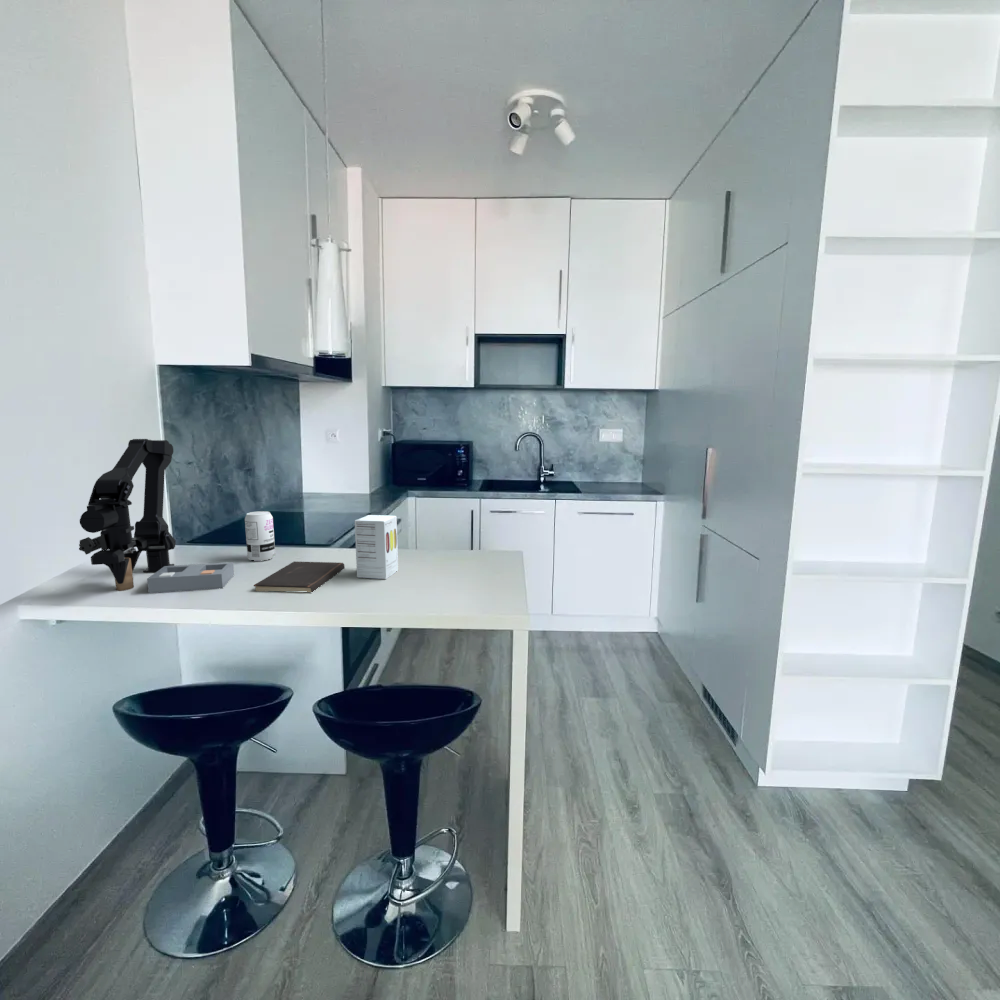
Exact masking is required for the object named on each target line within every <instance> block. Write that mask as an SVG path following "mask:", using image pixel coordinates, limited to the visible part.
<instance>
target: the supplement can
mask: <svg viewBox="0 0 1000 1000" xmlns="http://www.w3.org/2000/svg"><path fill="white" fill-rule="evenodd" d="M244 528H245V541H246V553H247V559H248V560H249V561H251V560H254V561H253V562H262V561H261V560H267V561H269V560H268V559H270V560H272V559H271V558H273V557H275V556H276V545H275V542H276V541H275V530H274V517H273V515H272V514H271V512H270V511H266V510H264V511H263V510H259V511H251V512H246V515H245V517H244ZM273 559H274V558H273Z"/></svg>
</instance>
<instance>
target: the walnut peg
mask: <svg viewBox="0 0 1000 1000" xmlns="http://www.w3.org/2000/svg"><path fill="white" fill-rule="evenodd" d="M133 576H134V575H133V573H132V565H131V558H129V562H128V566H127V570H126V574H125V578H124V582H123V583H122V584H118V583H117V581H116V579H115V578H114V582H115V590H116V591H117V592H118V591H119V592H121V591H123V592H124V591H128V590H132V589H134V587H135V586H134V585H135V584H134V577H133Z"/></svg>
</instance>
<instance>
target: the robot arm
mask: <svg viewBox="0 0 1000 1000" xmlns="http://www.w3.org/2000/svg"><path fill="white" fill-rule="evenodd" d="M173 455H174V446H173V444H172V443H170V442H169V441H168V440H166V439H164V440H163V439H162V440H161V439H157V440H156V439H154V440H152V439H148V438H133V439H130V440H129V441H128V444H127V448H126V449H125V450H124V452H123V453H122V455H121V457H120V458H119V460H118V461H117V462H116V463H115V465H114V467H113V468H112V469H111V470H109V471H106V472H104V473H102V475H101V476H99V478H97V479H96V481H95V483H94V484H93V487H92V491H91V494H90V497H89V501H88V504H87V505H86V511H84V512H82V514H81V515H80V518H79V524H80V526H81V528H82V529H83V530H84V531H85V532H88V533H92V534H95V533H99V532H100V535H99V536H96V537H94V538H90V536H88V537H84V538H82V539H79V543H78V550H79V551H80V552H84V554H85V555H90V554H91V553H93V552H94V553H93V554H92V555H91V556H90V563H91V565H92V566H93V565H94V566H95V565H96V566H97V565H104V566H106V567H108V569H109V570H110V571H111V573H112V575H113V577H114V580H115V579H116V581H117V583H118V584H122V583H123V582H124V578H125V574H126V570H127V566H128V562H129V558H131V565H132V574H133V572H134V570H135V568H136V565H137V563H138V560H139V559H140V555H141V554H142V553H143V552H145V554H146V562H147V563H146V564H147V568H145V569H143V573H156V572H157V571H158V570H160V569H161V568H163V567H164V566H175V564H174V563H170V552H169V551H170V550H174V549H175V548H176V539H175V537H173V535H172V534H171V532H170V531H169V530H170V529H169V524H168V523H167V522H166V520H165V519H164V516H163V514H164V497H165V496H164V493H165V492H164V491H165V474H166V473H165V471H166V469H167V468H168V466H169V465H170V464H171V462H172V460H173V459H172V457H173ZM142 465H143V466H144V468H145V476H144V477H145V478H144V493H143V494H144V495H143V497H144V499H143V515H142V517H141V518H140V520H139V521H136V522H135V523H134V525H131V518H130V516H131V515H130V511H129V510H130V509H129V506H131V505H132V504H133V503H132V501H131V500H129V498H130V496H131V495H132V492H133V489H134V486H135V485H134V482H133V480H134V479H133V478H134V476H135V474H137V472H138V470H139V468H140V467H141V466H142ZM132 531H134V534H132ZM136 548H137V549H136ZM100 549H101V550H100ZM95 551H96V552H95Z"/></svg>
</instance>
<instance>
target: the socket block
mask: <svg viewBox="0 0 1000 1000" xmlns="http://www.w3.org/2000/svg"><path fill="white" fill-rule="evenodd" d="M234 568H235V567H234V562H233V561H231V562H213V563H212V562H211V563H210V562H209V563H196V564H195V563H193V564H192V563H191V564H179V565H176V564H174V566H164V567H163V568H161V569H160V570H158V571H157V572H153V574H151V575H149V576H148V577H147V578H146V580H147V589H148V594H156V593H158V594H159V593H170V592H171V593H173V592H188V591H190V592H191V591H201V590H217V589H219V588H220V589H224V588H225V587H226V585H227V584H229V582H230V581H231V580H232V579H231V578H234V576H235V569H234ZM233 575H234V576H233ZM230 579H231V580H230ZM229 580H230V581H229ZM228 581H229V582H228ZM223 587H224V588H223Z"/></svg>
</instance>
